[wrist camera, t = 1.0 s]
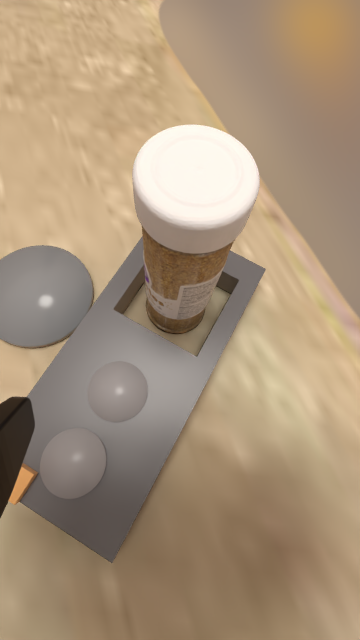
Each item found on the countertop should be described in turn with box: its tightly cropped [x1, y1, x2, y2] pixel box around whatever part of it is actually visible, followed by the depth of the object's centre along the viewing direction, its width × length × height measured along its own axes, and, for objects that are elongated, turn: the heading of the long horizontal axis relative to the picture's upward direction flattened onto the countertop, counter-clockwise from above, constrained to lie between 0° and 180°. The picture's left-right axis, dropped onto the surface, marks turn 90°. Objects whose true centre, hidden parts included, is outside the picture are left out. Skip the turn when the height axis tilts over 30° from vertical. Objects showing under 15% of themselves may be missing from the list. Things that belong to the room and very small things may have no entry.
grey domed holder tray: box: [8, 236, 266, 563], centre depth 20 cm, size 20×9×3 cm, turn 151°
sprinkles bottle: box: [132, 125, 260, 333], centre depth 17 cm, size 5×5×14 cm
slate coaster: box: [0, 245, 94, 348], centre depth 22 cm, size 8×8×1 cm
